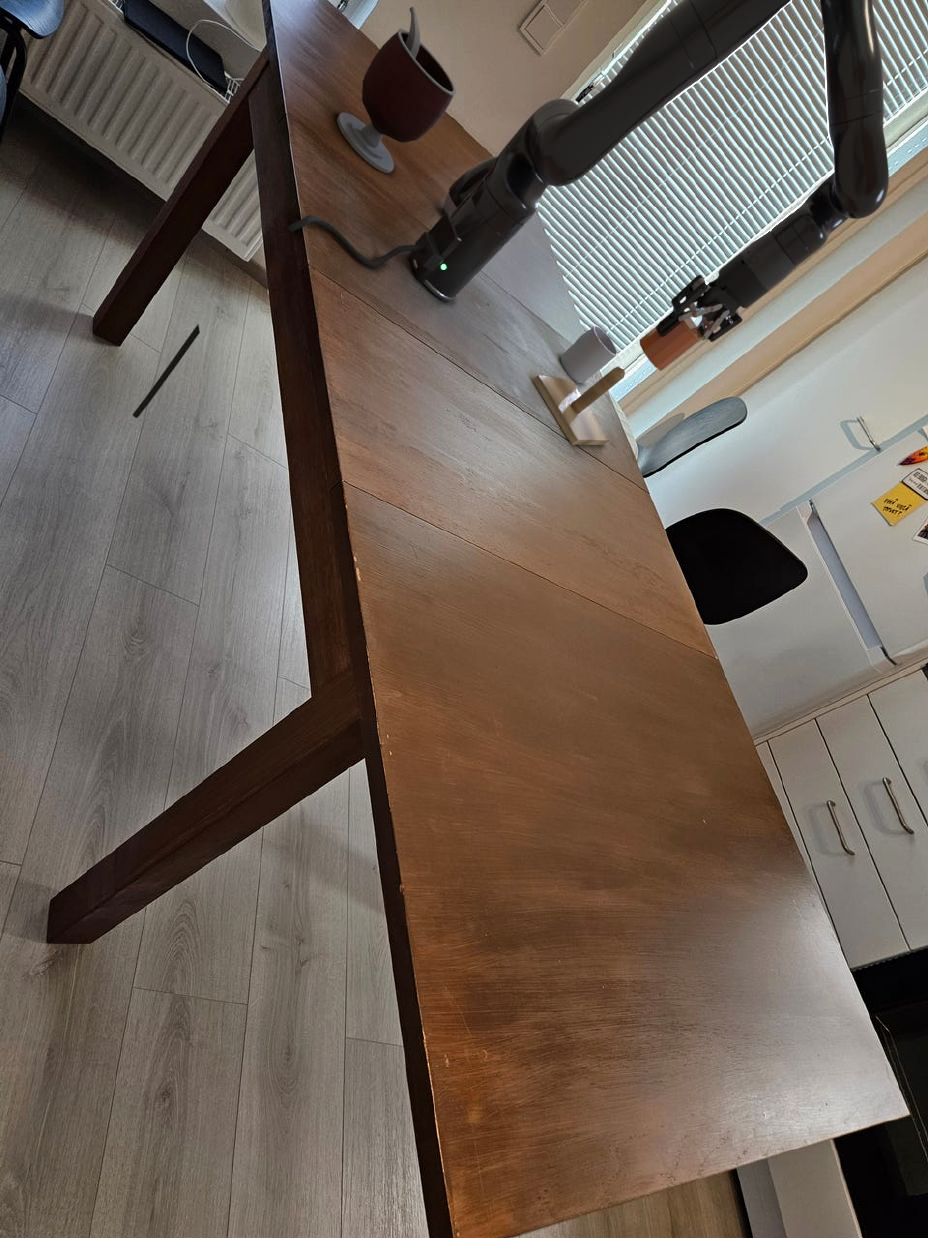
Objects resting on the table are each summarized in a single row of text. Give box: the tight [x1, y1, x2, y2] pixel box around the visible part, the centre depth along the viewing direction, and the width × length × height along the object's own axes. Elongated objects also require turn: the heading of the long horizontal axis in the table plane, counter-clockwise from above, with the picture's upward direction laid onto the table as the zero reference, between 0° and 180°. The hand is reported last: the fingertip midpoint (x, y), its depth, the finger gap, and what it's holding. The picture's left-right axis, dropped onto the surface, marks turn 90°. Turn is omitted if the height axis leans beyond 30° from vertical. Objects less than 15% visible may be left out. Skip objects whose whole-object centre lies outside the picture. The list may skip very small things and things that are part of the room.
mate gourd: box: [336, 6, 457, 174], centre depth 137 cm, size 16×14×20 cm
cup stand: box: [532, 365, 626, 446], centre depth 145 cm, size 14×14×13 cm
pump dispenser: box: [443, 155, 498, 214], centre depth 152 cm, size 10×10×15 cm
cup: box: [560, 325, 618, 384], centre depth 160 cm, size 7×10×9 cm
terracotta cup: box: [639, 310, 703, 372], centre depth 134 cm, size 6×6×8 cm
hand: (669, 340), depth 134 cm, fingers closed on terracotta cup, 6 cm apart
